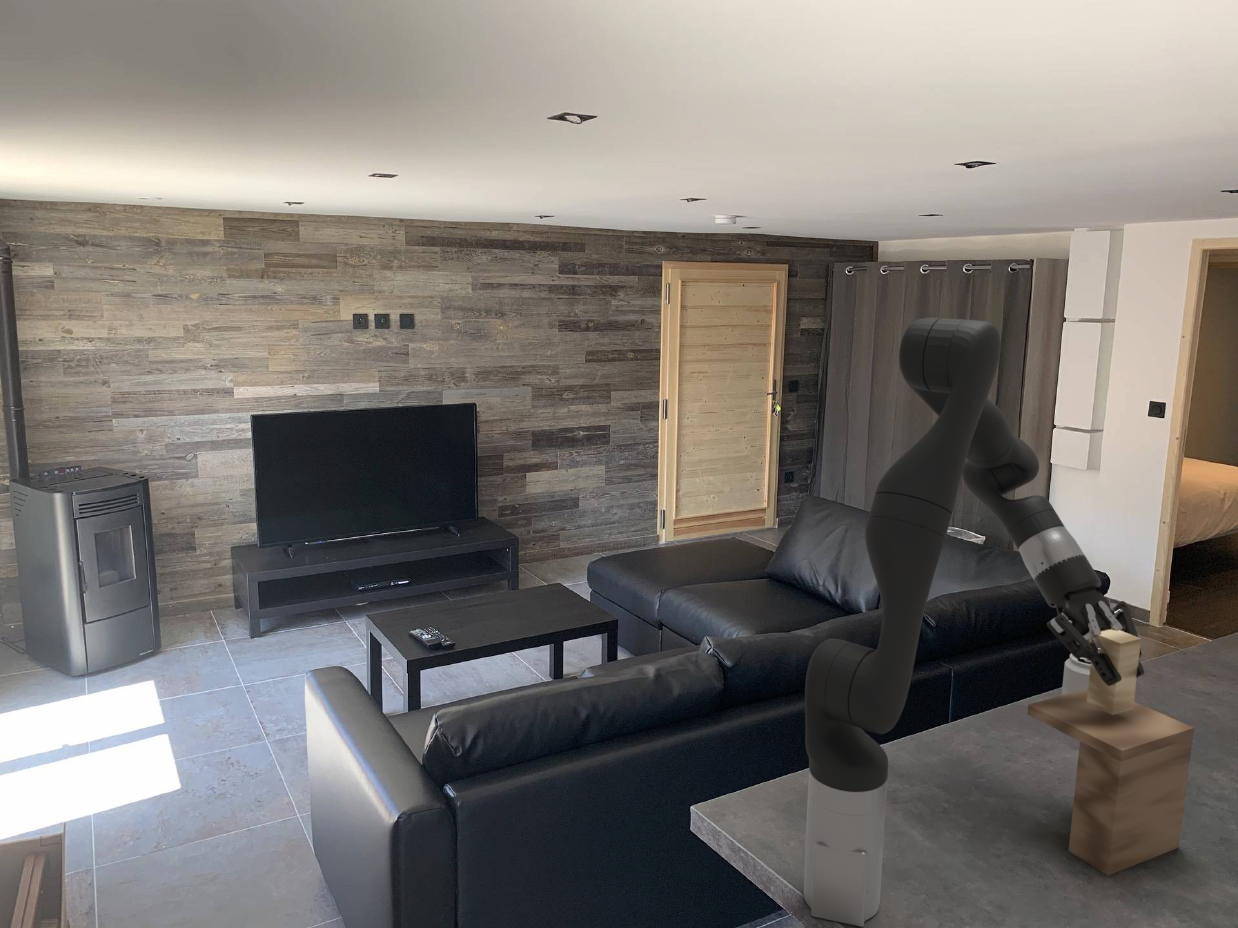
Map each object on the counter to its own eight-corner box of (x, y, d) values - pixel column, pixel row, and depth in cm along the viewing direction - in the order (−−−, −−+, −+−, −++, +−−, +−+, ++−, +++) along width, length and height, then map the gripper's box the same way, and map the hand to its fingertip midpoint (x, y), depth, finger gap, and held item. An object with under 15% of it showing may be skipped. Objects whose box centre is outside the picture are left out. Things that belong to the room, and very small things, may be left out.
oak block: (1086, 702, 132) (1093, 633, 129) (1106, 696, 133) (1114, 628, 131) (1112, 714, 128) (1120, 643, 126) (1133, 708, 130) (1141, 638, 128)
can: (1049, 717, 169) (1055, 652, 166) (1080, 709, 172) (1086, 645, 169) (1086, 736, 162) (1093, 669, 160) (1117, 727, 165) (1124, 661, 163)
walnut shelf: (1017, 818, 138) (1028, 704, 134) (1086, 795, 144) (1097, 685, 140) (1107, 875, 125) (1122, 750, 121) (1178, 847, 131) (1194, 727, 127)
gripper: (1039, 560, 130) (1110, 678, 122) (1111, 546, 136) (1183, 659, 128) (1005, 586, 136) (1070, 701, 128) (1075, 572, 142) (1142, 681, 134)
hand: (1126, 679), depth 128 cm, fingers closed on oak block, 4 cm apart
